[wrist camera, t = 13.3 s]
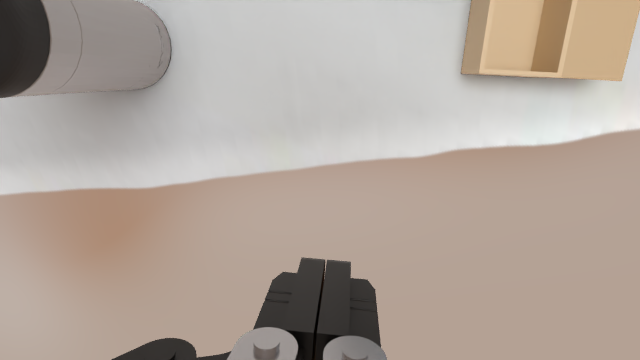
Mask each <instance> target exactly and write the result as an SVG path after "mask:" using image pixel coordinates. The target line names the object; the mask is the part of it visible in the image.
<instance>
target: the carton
mask: <svg viewBox="0 0 640 360" xmlns="http://www.w3.org/2000/svg"><path fill="white" fill-rule="evenodd" d="M639 10H640V0H471V7H470V14H469V21H468V28H467V35H466V41H465V48H464V55H463V62H462V69H461V74H477V75H496V76H514V77H537V78H574V79H592V80H610V81H622V77H623V73H624V69H625V66H626V62H627V58H628V54H629V50H630V46H631V42H632V38H633V34H634V30H635V26H636V22H637V18H638V14H639Z"/></svg>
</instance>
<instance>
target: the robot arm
mask: <svg viewBox="0 0 640 360" xmlns="http://www.w3.org/2000/svg"><path fill="white" fill-rule="evenodd" d="M170 55H171V45H170V38H169V35H168V32H167V30H166V28H165V26H164V24H163V22H162V20H161V19H160V18H159V17H158V16H157V14H156V13H155V12H154V11H152V10H151V9H150V8H149V7H147V6H145V5H143V4H141V3H140V2H137V1H134V0H0V98H5V97H19V96H35V95H48V94H65V93H82V92H99V91H119V90H135V89H142V88H146V87H148V86H151V85H153V84H154V83H156V82H157V81H158V80H159V79H160V78H161V77H162V76H163V74H164V73H165V71H166V69H167V67H168V64H169V61H170ZM350 266H351V262H347V261H335V260H327V265H326V272H325V260H323V259H312V258H302V259H301V262H300V265H299V269H298V272H297V273H288V272H283V273H281V274H280V275H278V276H277V277H276V278H275V279H274V280H272V283H271V286H270V288H269V292H268V293H267V296H266V298H265V301H264V303H263V306H262V308H261V311H260V313H259V316H258V319H257V321H256V324H255V326H254V329H253V330H251V331H249V332H247V333H245V334H244V335H242V336H241V337H240V338H239V339H238V341H237V342H236V344H235V346H234V348H233V349H232V351H230V352H228V353H224V354H220V355H213V356H206V357H198V358H196V350H195V348H194V347H193V346H192V344H190V343H189V342H187V341H185V340H182V339H176V338H165V339H159V340H155V341H152V342H149V343H147V344H145V345H142V346H140V347H138V348H136V349H134V350H131V351H130V352H127V353H125V354H123V355H121V356H118V357H116V358H114V359H112V360H387V357H386V355H385V353H384V351H383V350H382V349H381V344H380V334H379V324H378V314H377V305H376V294H375V289H374V288H373V287H372V285H371V284H370V283H369V281H368V280H365V279H354V278H350V274H351V267H350ZM324 275H325V279H324Z"/></svg>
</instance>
